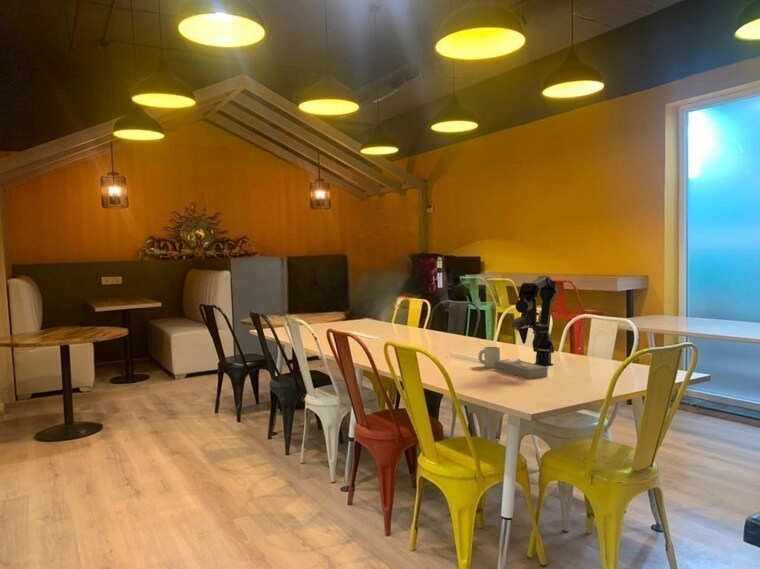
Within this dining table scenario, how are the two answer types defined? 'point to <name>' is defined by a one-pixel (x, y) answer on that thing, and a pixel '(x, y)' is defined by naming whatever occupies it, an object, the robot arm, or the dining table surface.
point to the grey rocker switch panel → (521, 369)
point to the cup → (489, 356)
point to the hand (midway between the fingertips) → (530, 345)
